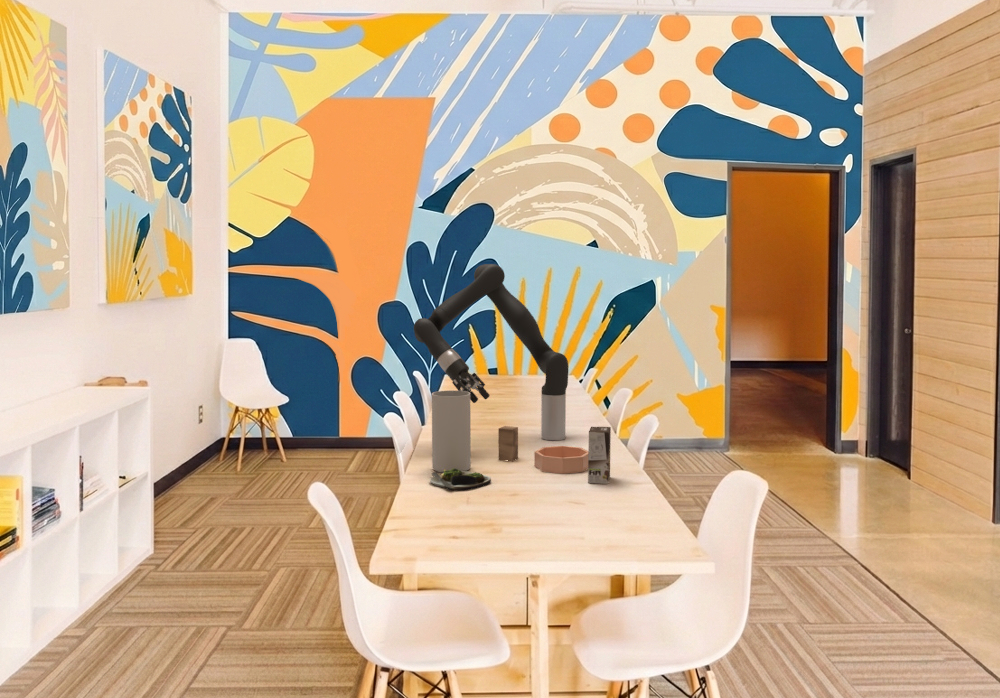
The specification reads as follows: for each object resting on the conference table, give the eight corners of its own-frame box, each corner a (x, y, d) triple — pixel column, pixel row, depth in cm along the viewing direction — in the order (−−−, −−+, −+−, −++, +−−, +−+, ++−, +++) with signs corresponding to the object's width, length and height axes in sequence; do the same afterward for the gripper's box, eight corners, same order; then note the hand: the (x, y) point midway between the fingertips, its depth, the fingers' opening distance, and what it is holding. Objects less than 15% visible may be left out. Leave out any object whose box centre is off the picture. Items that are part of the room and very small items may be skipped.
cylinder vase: (427, 466, 274) (426, 391, 271) (462, 462, 279) (462, 389, 276) (439, 475, 262) (439, 397, 260) (476, 471, 267) (476, 395, 265)
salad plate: (412, 483, 254) (412, 468, 254) (454, 472, 267) (454, 458, 267) (456, 495, 241) (456, 480, 241) (498, 483, 254) (498, 468, 254)
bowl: (548, 458, 285) (548, 444, 284) (595, 463, 277) (595, 449, 277) (528, 469, 269) (528, 454, 269) (577, 475, 262) (577, 460, 261)
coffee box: (608, 484, 252) (609, 432, 250) (587, 483, 253) (588, 431, 251) (610, 476, 261) (611, 426, 259) (590, 475, 262) (590, 425, 260)
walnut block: (504, 457, 287) (504, 425, 286) (517, 458, 285) (518, 427, 284) (498, 460, 282) (498, 428, 281) (511, 461, 280) (511, 429, 279)
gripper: (449, 359, 282) (479, 395, 278) (469, 355, 295) (498, 389, 291) (436, 374, 285) (465, 409, 281) (456, 369, 297) (484, 403, 294)
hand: (482, 399), depth 286 cm, fingers open, 8 cm apart
